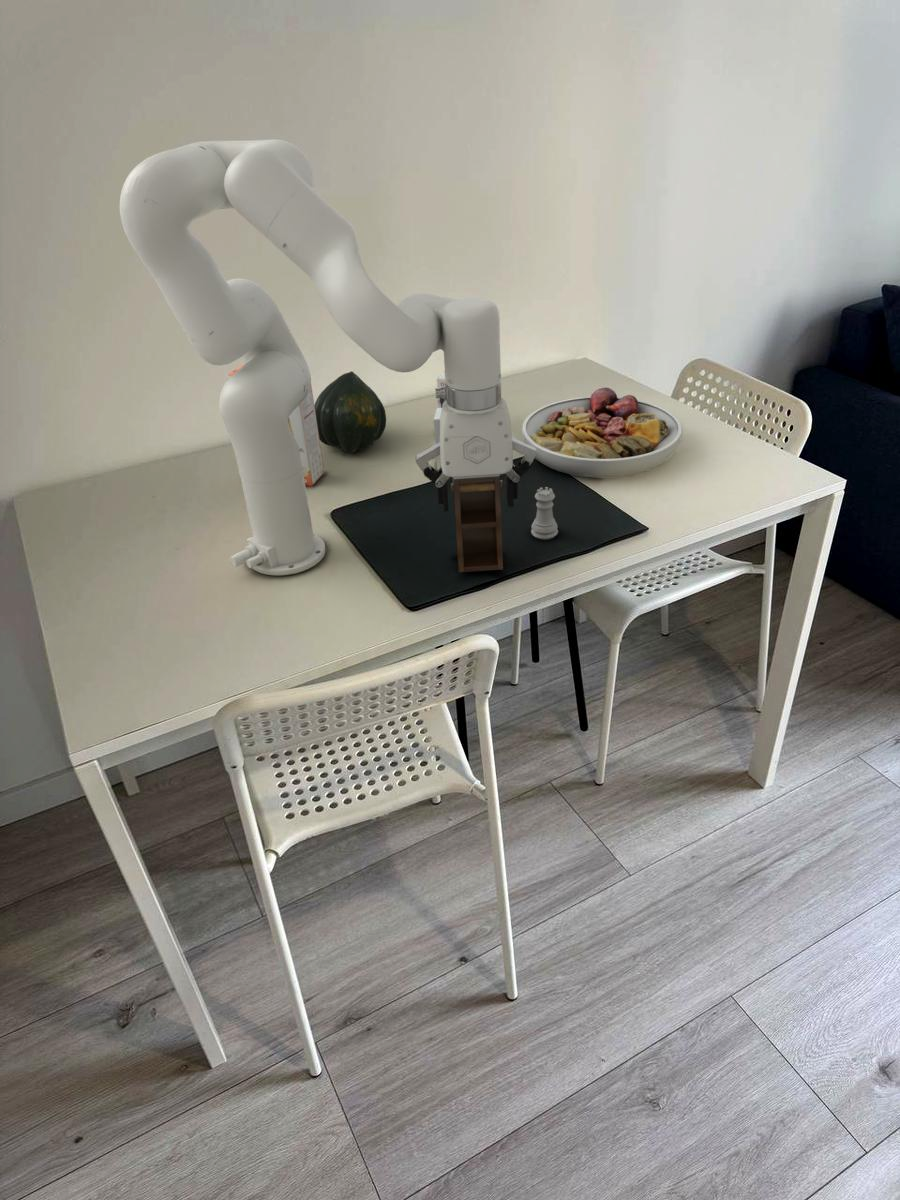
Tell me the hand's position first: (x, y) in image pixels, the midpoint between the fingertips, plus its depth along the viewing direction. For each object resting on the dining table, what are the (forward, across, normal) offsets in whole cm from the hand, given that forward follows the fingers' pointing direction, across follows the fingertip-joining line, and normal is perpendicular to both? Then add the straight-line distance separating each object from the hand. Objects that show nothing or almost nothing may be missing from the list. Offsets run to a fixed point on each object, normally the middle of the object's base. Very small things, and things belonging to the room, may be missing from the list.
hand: (478, 504), depth 128 cm
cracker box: (+12, -35, +38) cm, 53 cm away
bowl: (+12, +26, +41) cm, 50 cm away
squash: (+12, -23, +51) cm, 57 cm away
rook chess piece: (+12, +11, +10) cm, 19 cm away
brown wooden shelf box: (+4, 0, +6) cm, 7 cm away
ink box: (+12, 0, +54) cm, 55 cm away
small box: (+12, -1, +38) cm, 40 cm away
